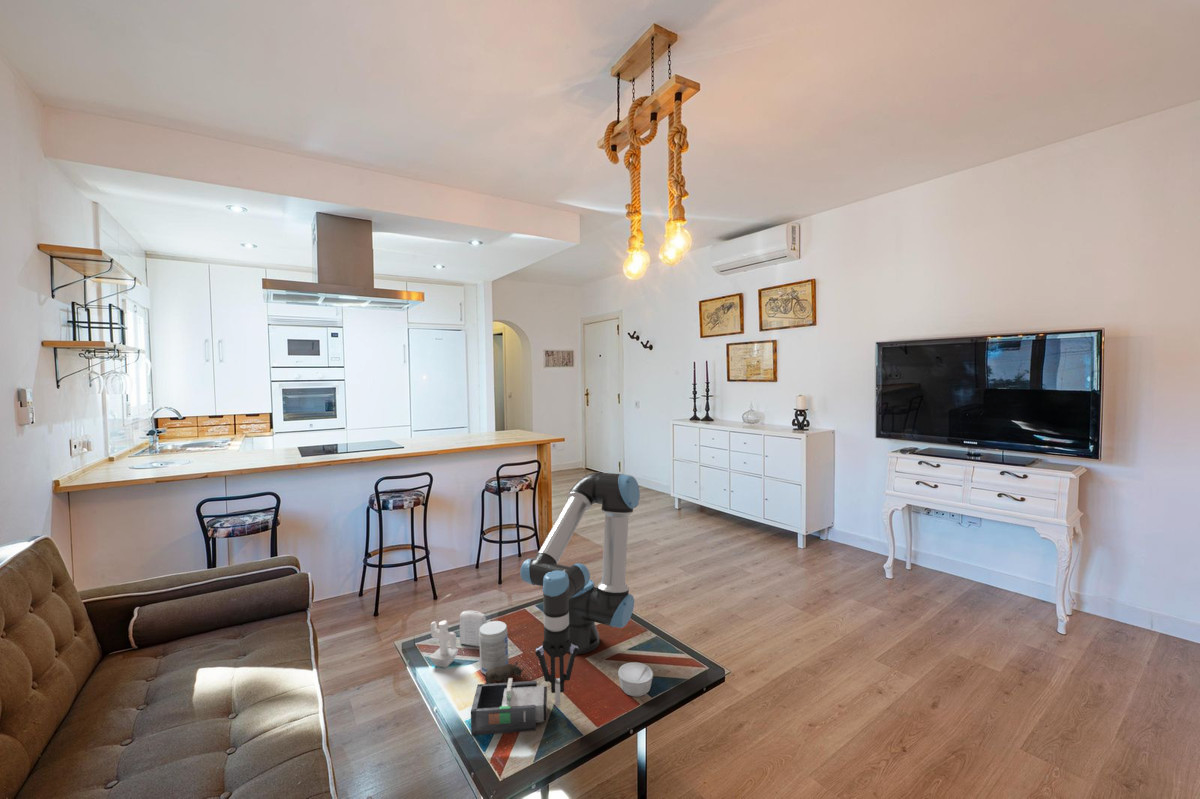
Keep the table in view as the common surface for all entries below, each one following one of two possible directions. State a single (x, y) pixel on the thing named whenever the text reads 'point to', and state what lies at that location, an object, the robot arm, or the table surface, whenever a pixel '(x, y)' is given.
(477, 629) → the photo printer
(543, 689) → the plunger
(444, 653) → the figurine
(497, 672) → the rhino figurine
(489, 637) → the supplement tub
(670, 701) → the table surface
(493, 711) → the gauge housing
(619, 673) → the ramekin
